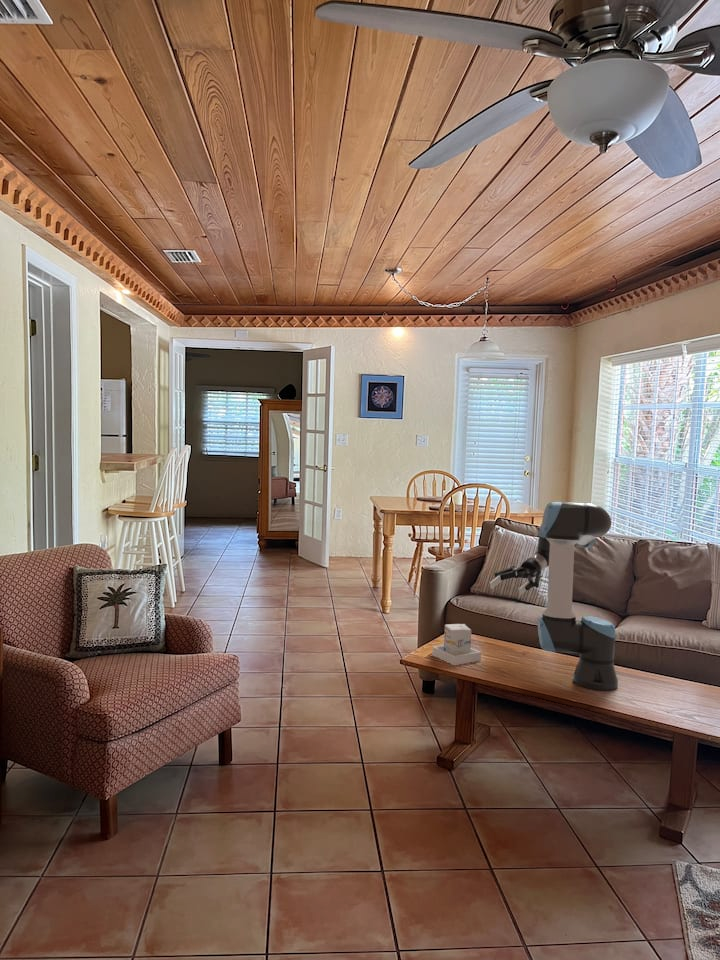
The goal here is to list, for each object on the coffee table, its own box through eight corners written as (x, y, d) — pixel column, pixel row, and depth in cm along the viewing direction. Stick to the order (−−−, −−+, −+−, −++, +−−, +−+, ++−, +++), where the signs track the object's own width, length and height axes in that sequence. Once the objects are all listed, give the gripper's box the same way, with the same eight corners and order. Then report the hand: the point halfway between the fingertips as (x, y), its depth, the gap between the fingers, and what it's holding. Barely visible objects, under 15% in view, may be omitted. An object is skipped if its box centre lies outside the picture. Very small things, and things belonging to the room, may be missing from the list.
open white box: (480, 660, 257) (481, 652, 257) (453, 665, 250) (454, 656, 250) (458, 651, 268) (459, 642, 268) (432, 655, 261) (432, 646, 261)
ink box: (442, 652, 263) (444, 623, 262) (463, 652, 264) (464, 623, 264) (449, 659, 254) (451, 629, 254) (470, 658, 256) (472, 629, 255)
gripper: (561, 579, 266) (533, 603, 253) (509, 569, 284) (480, 591, 271) (559, 562, 264) (531, 585, 251) (506, 553, 282) (478, 574, 269)
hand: (505, 588), depth 261 cm, fingers open, 13 cm apart
